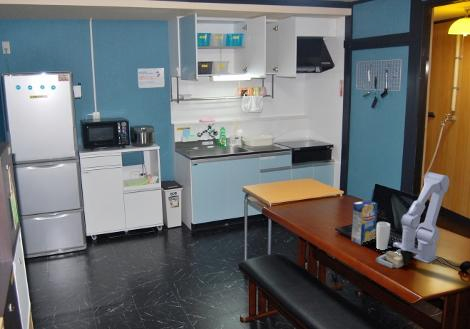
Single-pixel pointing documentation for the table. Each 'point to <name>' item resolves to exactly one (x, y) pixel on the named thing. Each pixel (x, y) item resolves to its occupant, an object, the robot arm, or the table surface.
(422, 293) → the table surface
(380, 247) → the drinking glass
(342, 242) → the table surface
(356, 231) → the beverage box
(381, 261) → the bracket
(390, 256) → the t block
